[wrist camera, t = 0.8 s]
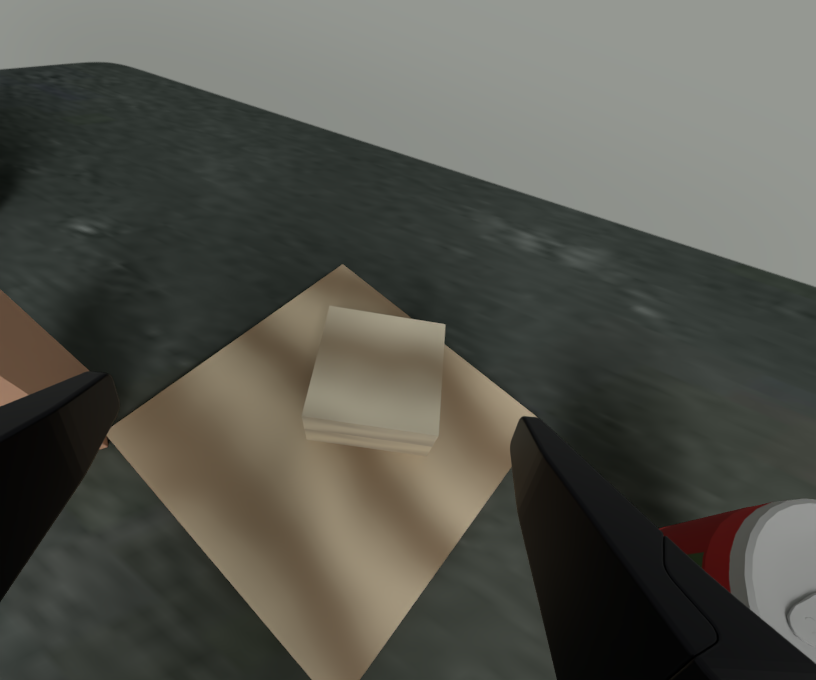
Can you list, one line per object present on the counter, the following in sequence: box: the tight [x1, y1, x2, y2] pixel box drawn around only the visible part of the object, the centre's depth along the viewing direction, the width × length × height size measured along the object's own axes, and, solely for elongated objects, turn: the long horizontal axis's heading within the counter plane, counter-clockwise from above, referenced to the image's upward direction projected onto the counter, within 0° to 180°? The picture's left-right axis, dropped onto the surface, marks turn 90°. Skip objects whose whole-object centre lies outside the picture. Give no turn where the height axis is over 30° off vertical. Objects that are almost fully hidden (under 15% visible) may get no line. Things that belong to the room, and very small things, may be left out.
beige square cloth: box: [106, 264, 538, 680], centre depth 25 cm, size 18×18×1 cm
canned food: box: [658, 499, 816, 663], centre depth 17 cm, size 8×8×11 cm
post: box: [0, 290, 108, 449], centre depth 19 cm, size 4×4×10 cm
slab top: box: [302, 306, 445, 447], centre depth 24 cm, size 7×7×2 cm
